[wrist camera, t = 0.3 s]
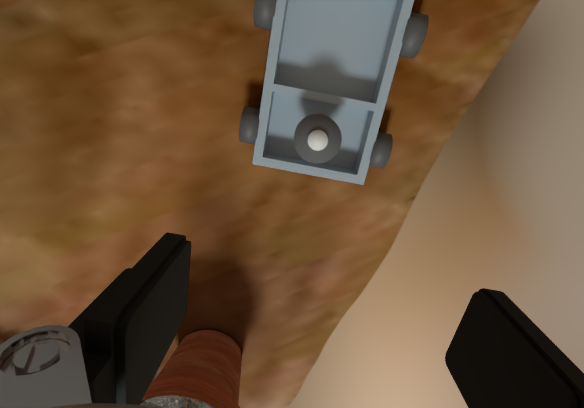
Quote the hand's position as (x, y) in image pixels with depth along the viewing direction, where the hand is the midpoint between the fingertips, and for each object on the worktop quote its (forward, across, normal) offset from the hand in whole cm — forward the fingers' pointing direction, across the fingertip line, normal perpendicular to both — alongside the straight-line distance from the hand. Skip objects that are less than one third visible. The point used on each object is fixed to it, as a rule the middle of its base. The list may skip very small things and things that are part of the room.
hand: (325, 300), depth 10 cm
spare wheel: (+25, 0, -2) cm, 25 cm away
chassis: (+30, 0, -7) cm, 31 cm away
